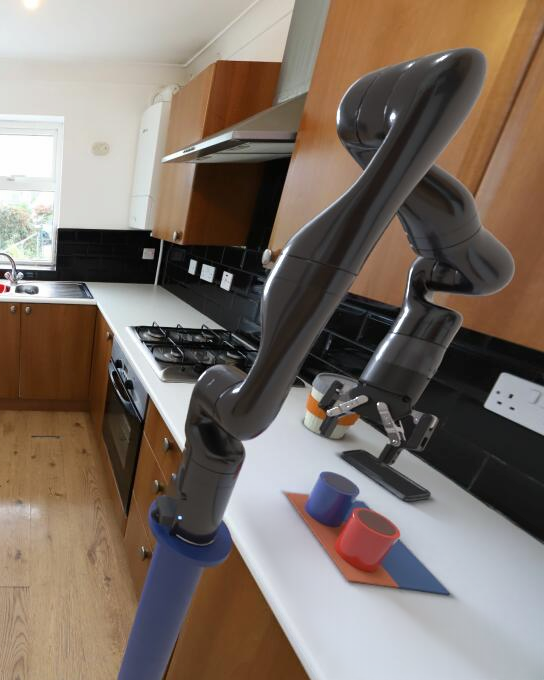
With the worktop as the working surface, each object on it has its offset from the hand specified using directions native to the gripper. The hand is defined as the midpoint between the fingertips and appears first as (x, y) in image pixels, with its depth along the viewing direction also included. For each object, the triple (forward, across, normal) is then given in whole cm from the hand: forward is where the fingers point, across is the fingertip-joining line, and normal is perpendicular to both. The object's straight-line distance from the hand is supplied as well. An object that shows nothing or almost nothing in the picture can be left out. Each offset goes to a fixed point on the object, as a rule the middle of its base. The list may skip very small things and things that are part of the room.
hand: (350, 449), depth 61 cm
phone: (+7, -7, +38) cm, 39 cm away
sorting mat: (+16, +2, +14) cm, 21 cm away
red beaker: (+18, +5, +9) cm, 21 cm away
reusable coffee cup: (+4, -24, +43) cm, 49 cm away
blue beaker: (+16, -3, +12) cm, 20 cm away
